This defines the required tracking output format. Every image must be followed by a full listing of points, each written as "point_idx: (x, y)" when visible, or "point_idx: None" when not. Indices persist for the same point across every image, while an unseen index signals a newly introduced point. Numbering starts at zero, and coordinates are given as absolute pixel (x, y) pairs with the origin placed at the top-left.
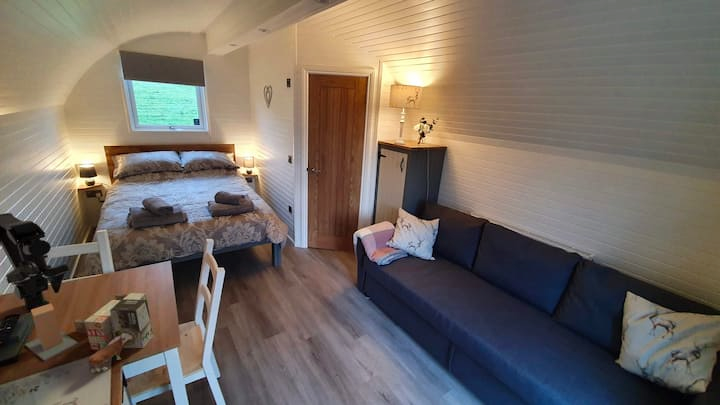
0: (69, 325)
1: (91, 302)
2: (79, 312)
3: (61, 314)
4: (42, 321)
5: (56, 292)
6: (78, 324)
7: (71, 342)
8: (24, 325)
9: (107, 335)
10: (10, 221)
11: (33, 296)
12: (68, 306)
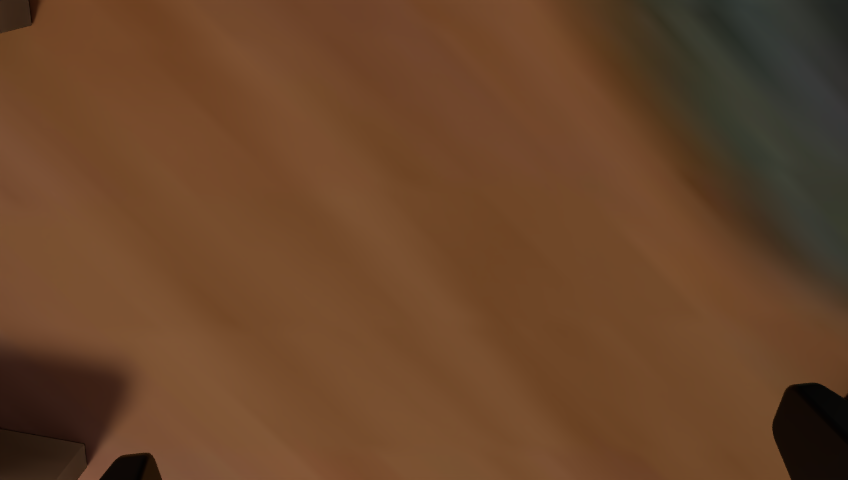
0: (215, 87)
1: (359, 468)
2: (328, 315)
3: (500, 276)
4: None
5: (112, 474)
6: None
7: None
8: (794, 45)
9: None
10: None
11: (791, 397)
12: (547, 407)
